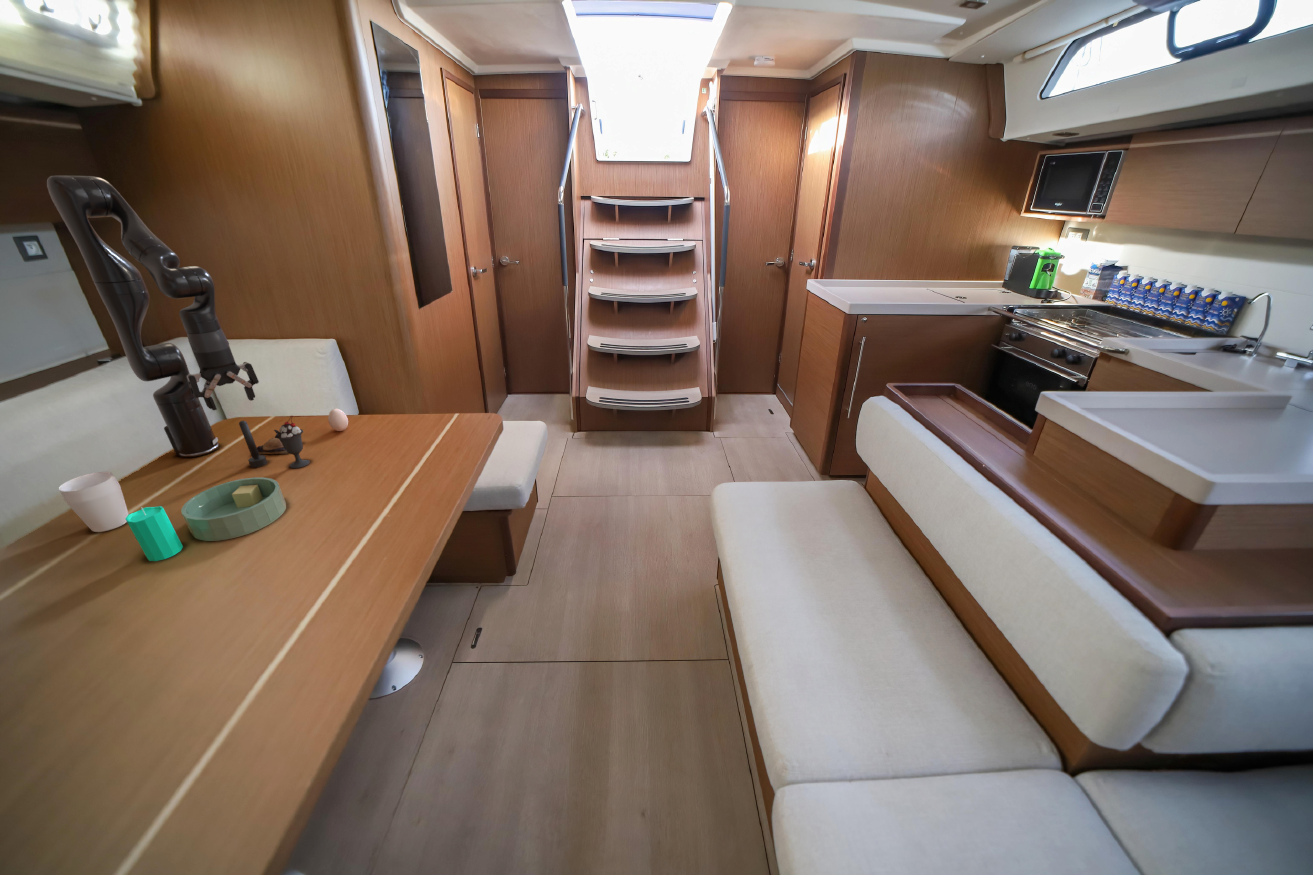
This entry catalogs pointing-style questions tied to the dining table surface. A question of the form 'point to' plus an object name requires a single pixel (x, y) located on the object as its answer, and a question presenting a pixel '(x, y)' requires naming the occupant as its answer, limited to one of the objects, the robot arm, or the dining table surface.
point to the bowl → (232, 510)
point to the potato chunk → (247, 496)
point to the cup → (96, 500)
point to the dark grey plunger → (252, 447)
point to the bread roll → (272, 447)
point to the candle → (154, 533)
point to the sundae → (292, 442)
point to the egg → (338, 420)
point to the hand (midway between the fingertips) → (233, 404)
